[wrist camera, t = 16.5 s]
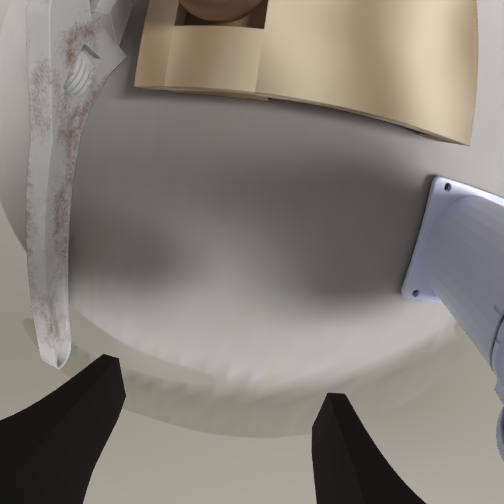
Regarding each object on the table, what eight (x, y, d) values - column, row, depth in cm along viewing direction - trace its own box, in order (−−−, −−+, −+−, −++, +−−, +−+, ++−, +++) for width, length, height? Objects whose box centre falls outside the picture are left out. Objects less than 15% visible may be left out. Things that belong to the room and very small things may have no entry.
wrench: (71, 326, 26) (139, -32, 12) (86, 334, 26) (165, -30, 12) (28, 385, 19) (61, -75, 4) (45, 396, 19) (92, -82, 5)
